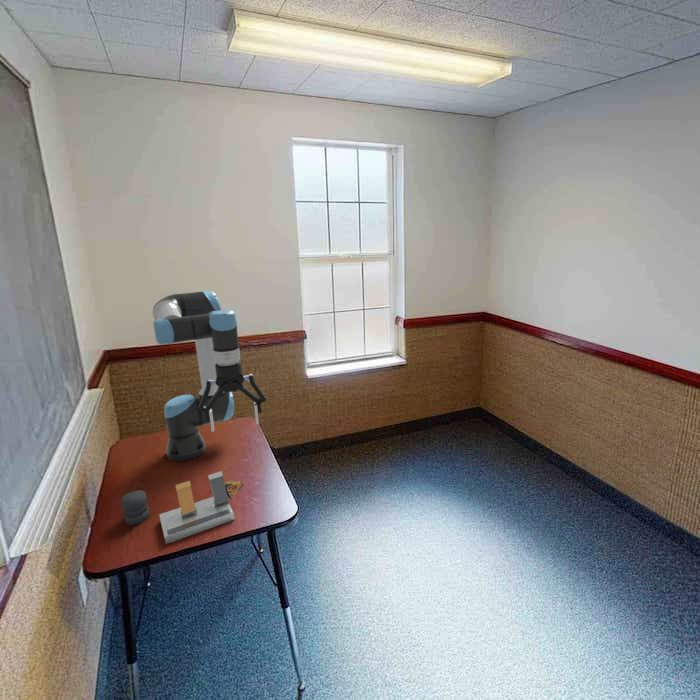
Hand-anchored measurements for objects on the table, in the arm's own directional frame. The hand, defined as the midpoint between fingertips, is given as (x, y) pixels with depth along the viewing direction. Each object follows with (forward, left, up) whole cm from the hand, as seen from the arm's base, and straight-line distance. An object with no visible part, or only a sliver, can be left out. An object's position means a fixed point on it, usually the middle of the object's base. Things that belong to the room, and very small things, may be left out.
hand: (235, 426), depth 132 cm
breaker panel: (+2, -15, -27) cm, 31 cm away
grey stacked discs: (-10, -31, -27) cm, 43 cm away
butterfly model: (-10, -2, -28) cm, 30 cm away
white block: (+2, -7, -25) cm, 26 cm away
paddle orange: (+2, -17, -25) cm, 30 cm away
